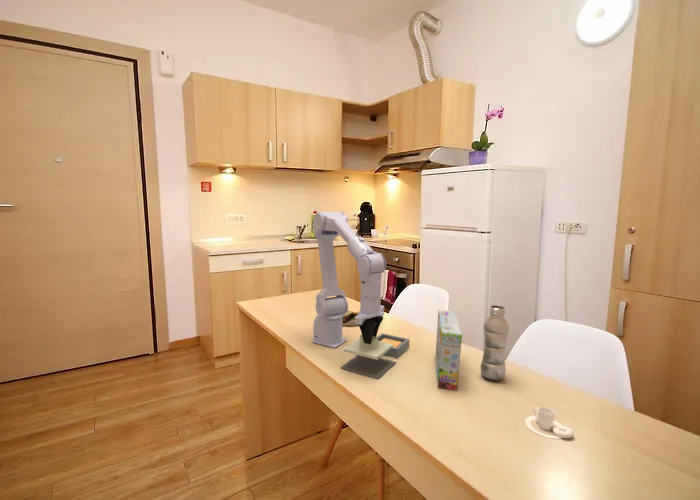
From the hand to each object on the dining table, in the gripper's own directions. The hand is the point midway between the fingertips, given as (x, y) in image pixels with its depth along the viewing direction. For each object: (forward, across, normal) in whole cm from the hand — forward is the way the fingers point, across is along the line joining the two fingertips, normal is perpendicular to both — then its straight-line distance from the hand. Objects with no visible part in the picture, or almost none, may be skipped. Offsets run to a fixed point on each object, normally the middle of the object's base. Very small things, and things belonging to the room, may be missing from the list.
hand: (369, 341), depth 103 cm
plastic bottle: (+8, +12, -32) cm, 35 cm away
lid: (+2, 0, 0) cm, 2 cm away
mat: (+7, 0, 0) cm, 7 cm away
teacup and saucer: (+8, -8, -46) cm, 47 cm away
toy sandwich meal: (+8, +31, +26) cm, 41 cm away
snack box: (+8, +9, -20) cm, 23 cm away
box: (+7, +14, 0) cm, 16 cm away
